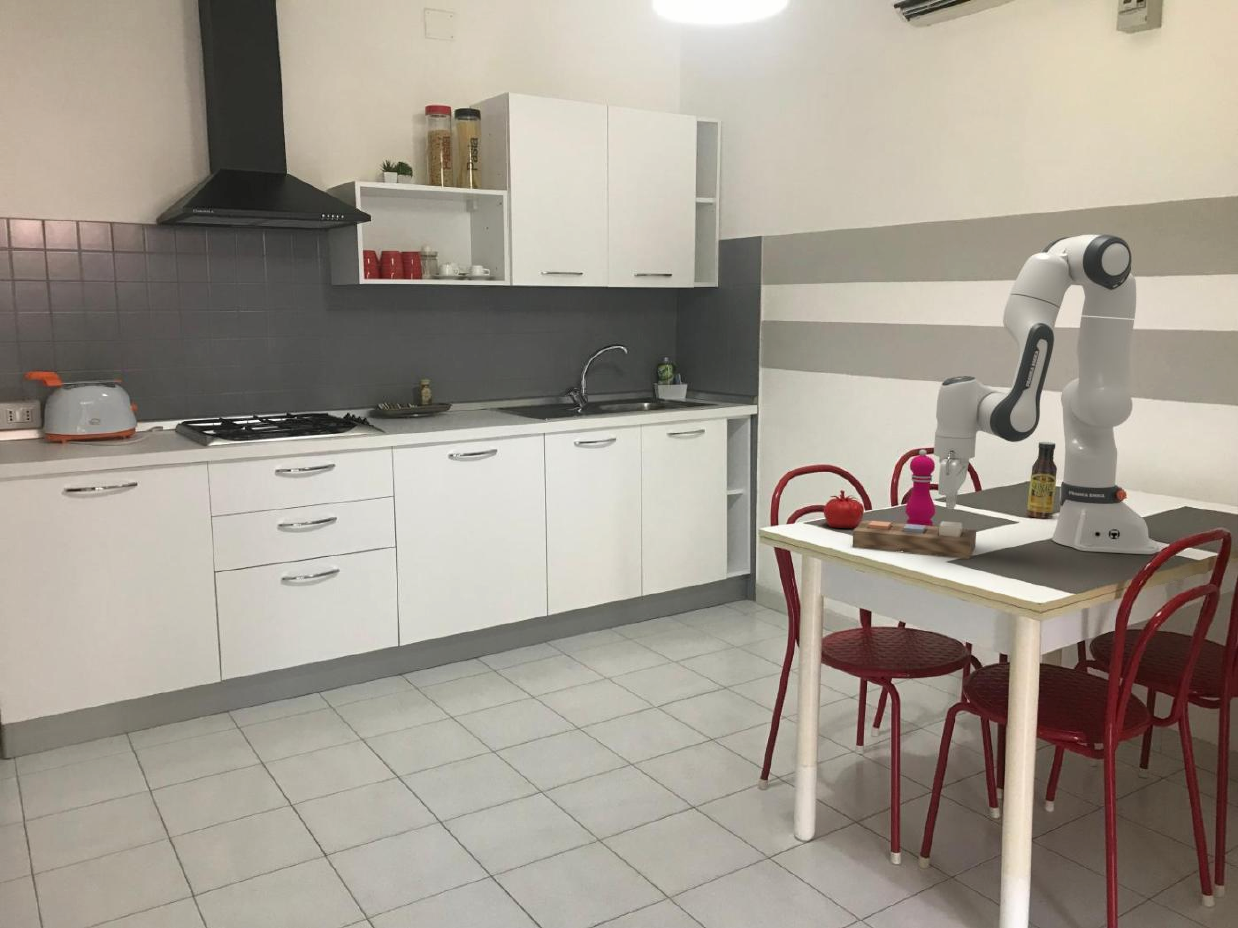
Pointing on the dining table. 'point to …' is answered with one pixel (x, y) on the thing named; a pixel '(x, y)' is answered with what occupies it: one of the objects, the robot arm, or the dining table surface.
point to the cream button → (950, 529)
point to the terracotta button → (880, 525)
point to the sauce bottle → (1042, 483)
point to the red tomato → (843, 512)
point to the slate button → (914, 528)
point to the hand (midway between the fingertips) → (950, 508)
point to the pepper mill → (921, 491)
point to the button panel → (915, 540)
